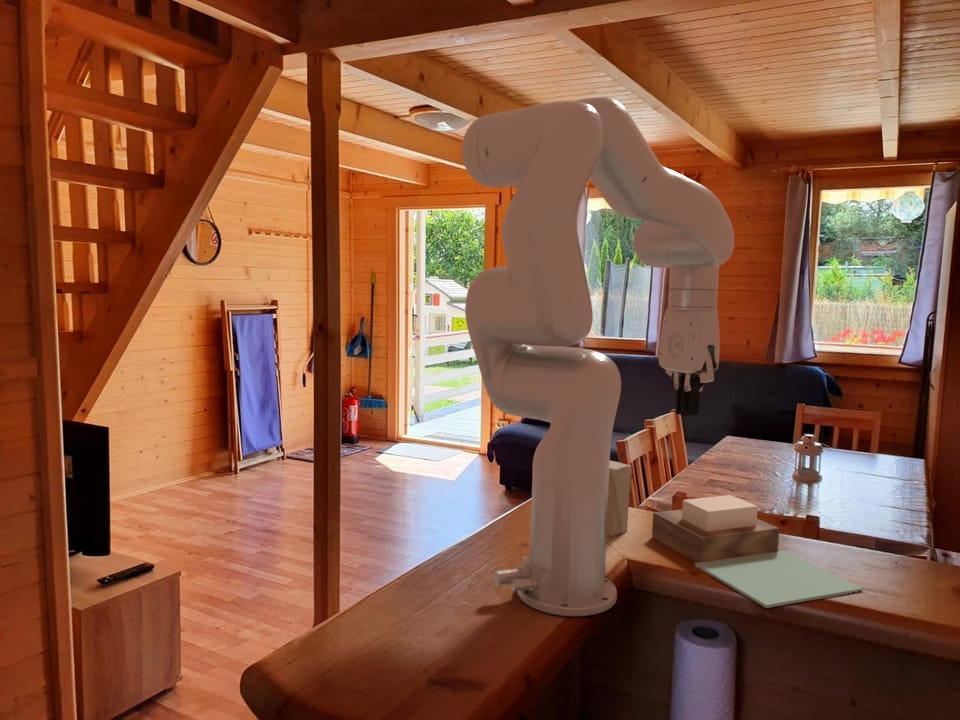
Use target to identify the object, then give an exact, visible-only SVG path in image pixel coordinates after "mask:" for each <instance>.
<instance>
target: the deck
mask: <svg viewBox="0 0 960 720" xmlns="http://www.w3.org/2000/svg"><path fill="white" fill-rule="evenodd" d="M779 537H780V528H779V527H778V526H776V525H772V524H770V523H769V522H766V521H764V520H762V519H759V518H757V524H756V526H749V527H741V528H733V529H725V530H717V531H709V532H707V531H705V530H703V529H701V528H699V527H697V526H695V525H693V524H691V523H689V522H687V521H685V520H683V519H682V508H681V509H675V510H674V509H673V510H665V511H655V512H653V513H652V531H651V538H653V539H655V540H656V541H658V542H660V543H661V544H662V545H665V546H667V547H668V548H670V549H672V550H674V551H676V552H677V553H679V554H680V555H682V556H685V558H687V559H689V560H691V561H693V562H694V563H700V562H707V561H714V560H722V559H729V558H736V557H743V556H750V555H757V554H764V553H771V552H778V551H779V540H780V538H779Z"/></svg>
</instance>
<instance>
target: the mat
mask: <svg viewBox="0 0 960 720" xmlns="http://www.w3.org/2000/svg"><path fill="white" fill-rule="evenodd" d="M694 567H696V568H697V569H699V570H700V571H703V572H704V573H706V574H707V575H709V576H711V577H713V578H714V579H716V580H717V581H719V582H721V583H723V584H725V585H726V586H728V587H730V588H731V589H733V590H734V591H736V592H738V593H740V594H741V595H743V596H745V597H746V598H748V599H750V600H751V601H753V602H755V603H757V604H759V605H760V606H762V607H763V608H765V609H770V608H775V607H781V606H786V605H792V604H797V603H799V604H800V603H803V602H810V601H814V600H815V601H817V600H820V599H821V600H822V599H826V598H832V597H833V598H834V597H837V596H838V597H839V596H843V594H844V595H849V594H848V593H850V594H853V593H852V592H855V593H859V592H858V591H861V592H863V591H864V590H863V589H864V588H863V587H861V586H859V585H857V584H855V583H852V582H851V581H849V580H846V579H843V578H841V577H840V576H839V575H838V576H837V575H836V574H833V573H831V572H829V571H827V570H825V569H822V568H820V567H819V566H817V565H815V564H811V563H810V562H807V561H806V560H804V559H801V558H799V557H797V556H796V555H794V554H790V553H789V552H787V551H786V550H785V551H784V550H778V552H771V553H764V554H757V555H750V556H743V557H736V558H729V559H722V560H714V561H707V562H700V563H696V562H694Z"/></svg>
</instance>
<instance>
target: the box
mask: <svg viewBox="0 0 960 720" xmlns="http://www.w3.org/2000/svg"><path fill="white" fill-rule="evenodd" d="M631 473H632V466H631V465H630V464H625V463H622V462H619V461H613V460H610V463H609V486H608V512H607V536H609V537H615V536H617V535H620V534H623V533H625V532H628V522H629V521H628V520H629V507H630V492H631V491H630V489H631V476H632V474H631Z"/></svg>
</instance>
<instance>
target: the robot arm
mask: <svg viewBox="0 0 960 720" xmlns="http://www.w3.org/2000/svg"><path fill="white" fill-rule="evenodd" d="M461 144H462V145H461V158H462V161H463V162H462V163H463V165H464V167H465V170H466V172H467V173H468V175H469V176H470V177H471V179H473V181H474V182H476V183H477V184H479V185H481V186H483V187H486V188H490V189H498V188H499V189H500V188H501V189H503V188H511V187H517V189H516V190H515V192H514V194H513V196H512V198H511V200H510V202H509V204H508V206H507V209H506V211H505V213H504V217H503V220H502V226H501V241H502V245H503V250H504V256H505V260H506V266H504V265H503V266H495V267H489V268H486V269H484V270H483V271H481V272H479V274H477V275H476V277H474V279H473V280H472V282H471V283H470V285H469V287H468V291H467V293H466V298H465V306H464V307H465V308H464V309H465V310H464V311H465V312H464V313H465V322H466V327H467V330H468V335H469V338H470V341H471V345H472V348H473V352H474V354H475V355H474V356H475V358H476V362H477V365H478V368H479V373H480V375H481V379H482V382H483V385H484V389H485V391H486V394H487V396H488V398H489V400H490V402H491V403H492V405H493V406H494V407H495V408H496V409H497V410H499V411H500V412H502V413H504V414H507V415H510V416H516V417H520V418H525V419H526V418H527V419H532V420H539V421H543V422H547V423H550V425H549V429H548V430H547V432H546V433H545V434H544V436H543V437H542V439H541V440H540V442H539V444H538V445H537V447H536V449H535V452H534V455H533V459H532V473H531V474H532V482H531V483H532V484H531V514H530V516H531V517H530V519H531V520H530V549H529V550H530V552H529V553H530V555H529V556H523V557H522V564H519V565H517V566H516V567H515V568H511V569H510V568H506V569H505V568H504V569H499V570H498V569H497V570H494V571H493V582H494V583H493V584H494V585H495V586H496V587H504V586H510V587H511V590H512V592H516V593H517V596H518V597H519V599H520V600H521V601H523V602H524V604H526V605H527V606H529V607H531V608H533V609H535V610H538V611H541V612H543V613H546V614H551V615H556V616H562V617H563V616H564V617H588V616H593V615H597V614H601V613H603V612H604V613H605V612H606V611H608V610H610V609H611V608H612V607H613V606H614V605H615V604H616V602H617V599H618V590H617V588H616V585H615V584H614V583H613V582H612V581H611V580H610V579H608V578H607V577H606V561H607V560H606V558H607V555H606V554H607V536H608V535H607V512H608V486H609V463H610V461H611V460H610V459H611V448H612V447H611V446H612V436H613V430H614V424H615V419H616V416H617V415H616V414H617V411H618V406H619V403H620V397H621V391H622V378H621V374H620V373H621V372H620V370H619V368H618V366H617V364H616V363H615V362H614V361H613V359H611V358H610V357H608V356H607V355H605V354H604V353H601V352H599V351H596V350H593V349H588V348H583V347H572V345H573V346H574V345H577V344H578V343H580V342H582V341H583V340H585V338H587V336H588V335H589V334H590V332H591V329H592V325H593V320H594V319H593V318H594V317H593V315H594V313H593V306H592V305H593V304H592V298H591V294H590V293H591V292H590V289H589V283H588V278H587V274H586V269H585V265H584V260H583V259H584V258H583V255H582V249H581V245H580V239H579V233H578V232H579V231H578V214H579V209H580V208H579V207H580V204H581V201H582V198H583V194H584V191H586V190H585V189H586V188H587V184H588V182H589V181H590V183H591V184H592V185H593V186H594V187H595V189H596V190H597V192H598V193H599V194H600V195H601V196H602V198H603V199H604V200H605V202H606V203H607V205H608V206H609V208H610V209H612V210H613V211H615V212H616V213H617V214H620V215H623V216H625V217H628V218H632V219H634V220H638V221H642V223H641V225H640V226H639V227H638V228H637V230H636V232H635V234H634V236H633V237H634V238H633V248H634V252H635V255H636V257H637V258H638V260H639V261H640V262H641V263H642V264H644V265H646V266H648V267H651V268H658V269H659V268H662V269H665V268H667V269H668V268H669V276H668V277H669V279H668V297H667V298H668V301H667V308H666V309H665V312H664V316H663V321H662V326H661V332H660V342H659V350H658V364H659V366H660V367H661V368H662V369H664V370H665V373H666V374H667V375H668V376H670V377H671V378H672V379H673V387H674V390H675V392H676V394H675V409H674V410H675V412H674V413H675V415H679V416H680V415H681V416H683V417H690V416H693V417H694V416H698V415H699V412H700V396H701V395H700V394H701V392H702V391H703V388H704V385H705V384H706V383H711V382H712V383H713V382H714V381H715V374H714V373H715V372H717V370H718V369H719V363H720V352H721V351H720V350H721V348H720V347H721V343H720V342H721V340H720V339H721V338H720V336H721V335H720V319H719V313H718V297H719V293H718V292H719V291H718V290H719V277H720V266H721V265H723V264H725V263H726V262H727V261H729V259H730V258H731V256H732V254H733V252H734V248H735V232H734V227H733V225H732V223H731V219H730V217H729V215H728V213H727V212H726V210H725V208H724V206H723V204H722V203H721V201H720V199H719V198H718V196H717V195H716V194H714V193H713V192H712V191H711V190H710V189H709V188H707V187H706V186H704V185H702V184H700V183H698V182H697V181H695V180H692V179H691V178H689V177H686V176H685V175H683V174H681V173H678V171H677V172H676V171H674V170H673V169H670V168H667V167H665V166H663V165H662V164H661V163H660V161H659V159H658V157H657V156H656V154H655V152H654V151H653V149H652V148H651V147H650V145H649V143H648V142H647V140H646V138H645V137H644V135H643V133H642V132H641V130H640V128H639V127H638V126H637V124H636V122H635V120H634V119H633V117H632V116H631V115H630V113H629V111H628V110H627V108H626V107H625V106H624V105H623V104H622V103H621V102H619V101H618V100H616V99H614V98H611V97H606V96H605V97H603V96H598V97H597V96H596V97H589V98H584V99H578V100H565V101H564V100H563V101H554V102H547V103H541V104H536V105H532V106H531V105H530V106H527V107H526V106H525V107H521V108H517V109H511V110H506V111H501V112H495V113H491V114H487V115H486V114H485V115H482V116H480V117H478V118H476V119H475V120H474V121H473V122H472V123H471V124H470V125H469V126H468V128H467V129H466V131H465V134H464V136H463V139H462V143H461ZM643 222H644V223H643ZM570 346H571V347H570Z"/></svg>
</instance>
